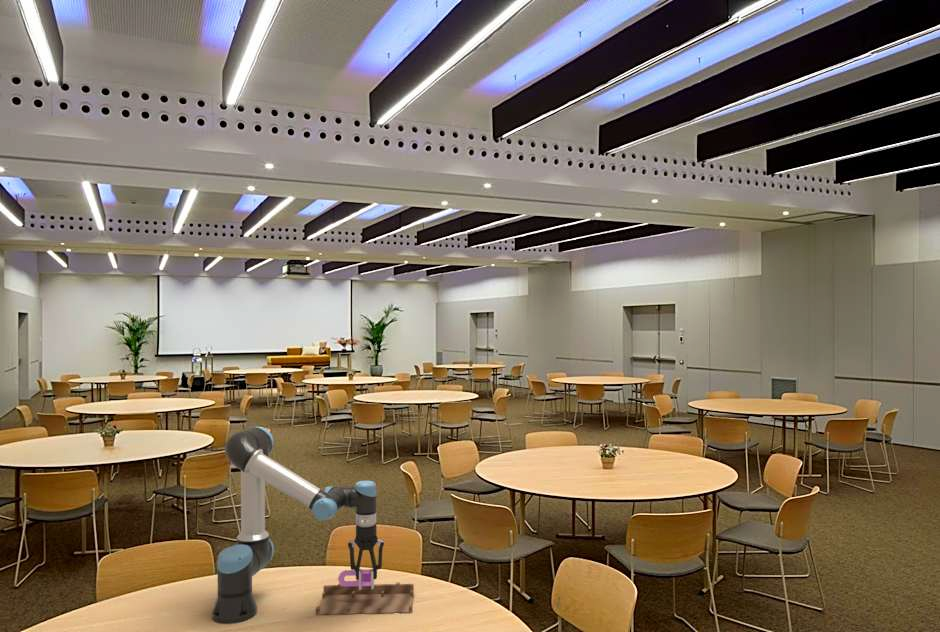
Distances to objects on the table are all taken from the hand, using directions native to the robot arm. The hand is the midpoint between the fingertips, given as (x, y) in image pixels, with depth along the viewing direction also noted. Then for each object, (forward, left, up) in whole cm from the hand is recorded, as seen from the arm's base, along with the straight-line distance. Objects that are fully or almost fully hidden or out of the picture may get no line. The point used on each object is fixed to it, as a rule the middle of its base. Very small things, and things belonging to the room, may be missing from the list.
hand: (366, 587), depth 241 cm
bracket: (-4, +5, +2) cm, 6 cm away
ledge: (0, +1, -7) cm, 7 cm away
